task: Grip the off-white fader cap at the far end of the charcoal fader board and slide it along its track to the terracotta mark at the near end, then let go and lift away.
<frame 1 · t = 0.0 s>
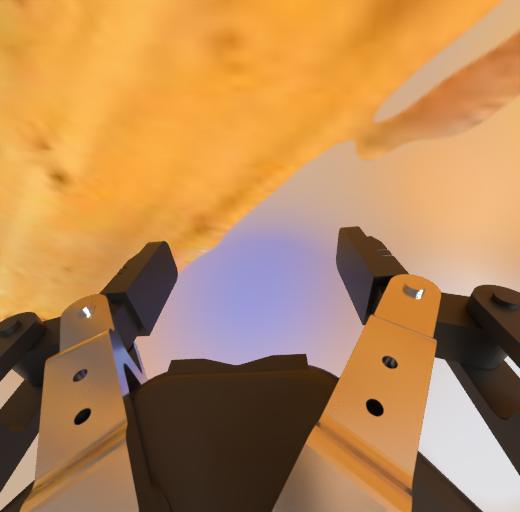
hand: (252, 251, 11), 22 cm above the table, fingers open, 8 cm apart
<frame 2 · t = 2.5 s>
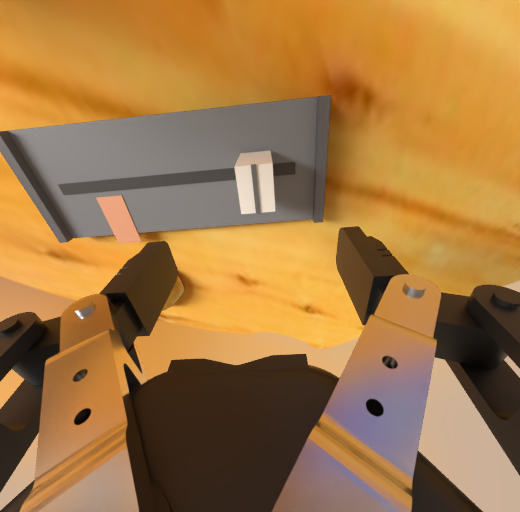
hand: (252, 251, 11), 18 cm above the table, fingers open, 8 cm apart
fader board: (180, 174, 27), on the table
fader cap: (256, 180, 21), point 5 cm above the table, slide at 9.0 cm
bread roll: (156, 279, 36), on the table
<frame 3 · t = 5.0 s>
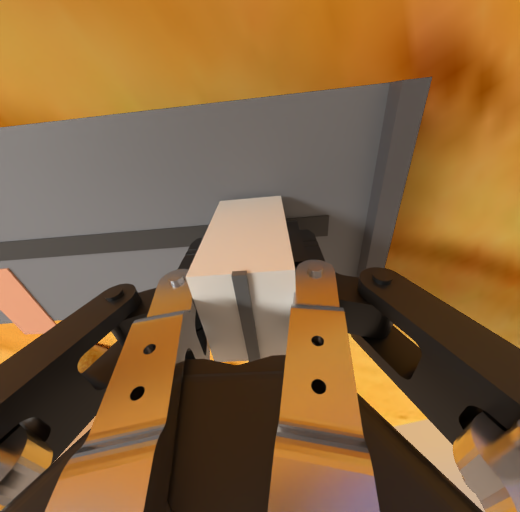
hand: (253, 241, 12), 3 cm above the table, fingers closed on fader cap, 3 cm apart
fader board: (117, 227, 15), on the table
fader cap: (252, 268, 10), point 5 cm above the table, slide at 9.0 cm, touching gripper
bread roll: (107, 364, 24), on the table
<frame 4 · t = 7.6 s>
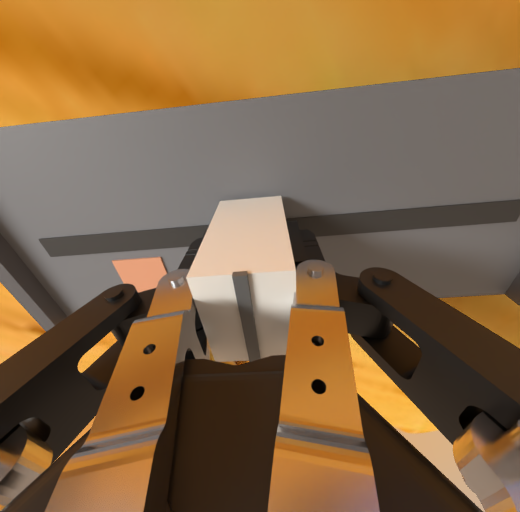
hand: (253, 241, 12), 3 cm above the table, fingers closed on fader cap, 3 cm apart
fader board: (267, 215, 14), on the table
fader cap: (252, 268, 10), point 5 cm above the table, slide at -0.8 cm, touching gripper
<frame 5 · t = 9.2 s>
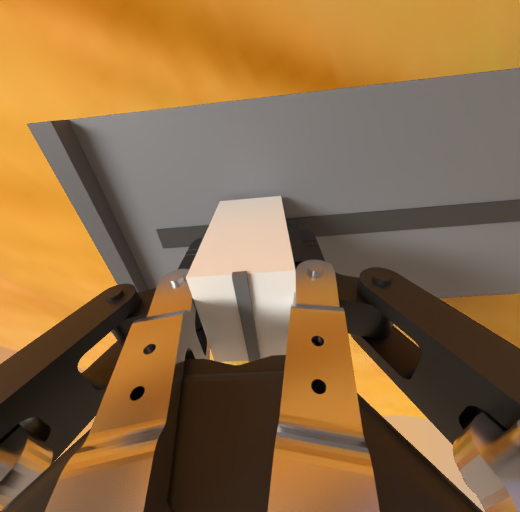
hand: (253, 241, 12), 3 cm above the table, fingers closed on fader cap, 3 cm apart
fader board: (381, 205, 14), on the table
fader cap: (252, 268, 10), point 5 cm above the table, slide at -7.6 cm, touching gripper
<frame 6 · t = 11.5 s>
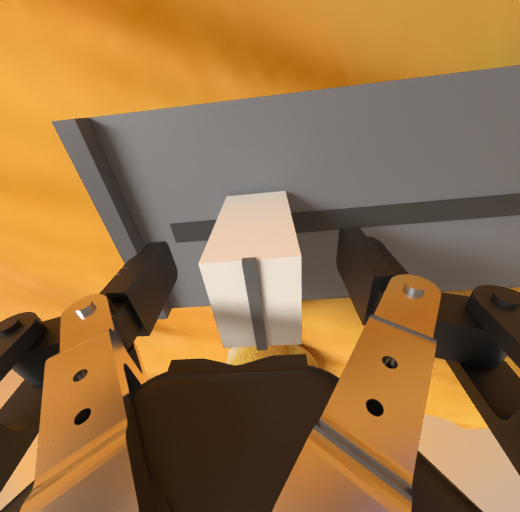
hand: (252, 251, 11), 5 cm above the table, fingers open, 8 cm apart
fader board: (388, 200, 14), on the table
fader cap: (258, 260, 10), point 5 cm above the table, slide at -7.9 cm
bread roll: (271, 355, 24), on the table
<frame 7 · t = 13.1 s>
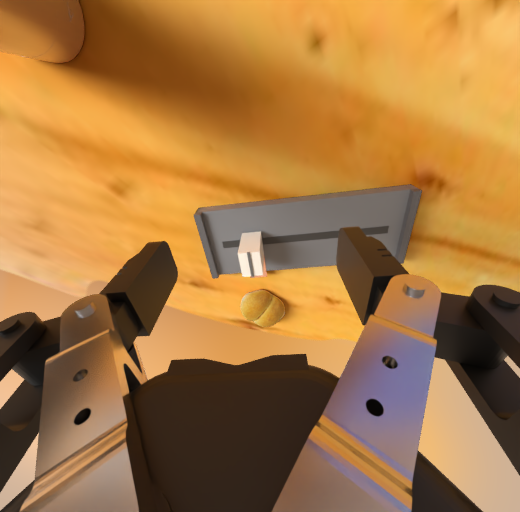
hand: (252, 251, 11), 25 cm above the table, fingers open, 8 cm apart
fader board: (301, 231, 38), on the table
fader cap: (252, 253, 34), point 5 cm above the table, slide at -7.9 cm
bread roll: (262, 303, 48), on the table
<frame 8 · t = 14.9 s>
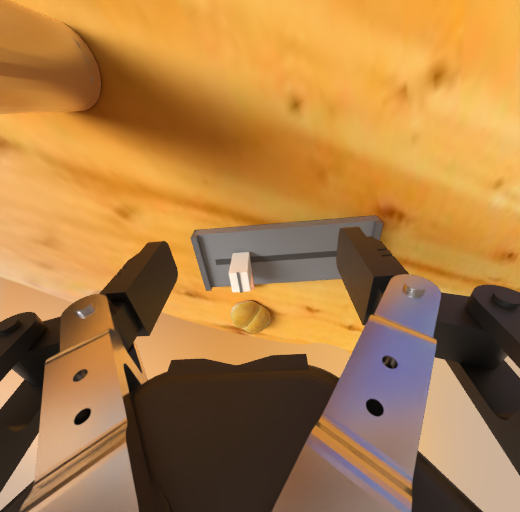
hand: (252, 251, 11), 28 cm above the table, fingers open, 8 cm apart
fader board: (284, 251, 44), on the table
fader cap: (241, 271, 40), point 5 cm above the table, slide at -7.9 cm
bread roll: (251, 311, 54), on the table
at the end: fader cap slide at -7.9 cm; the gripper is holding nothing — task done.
